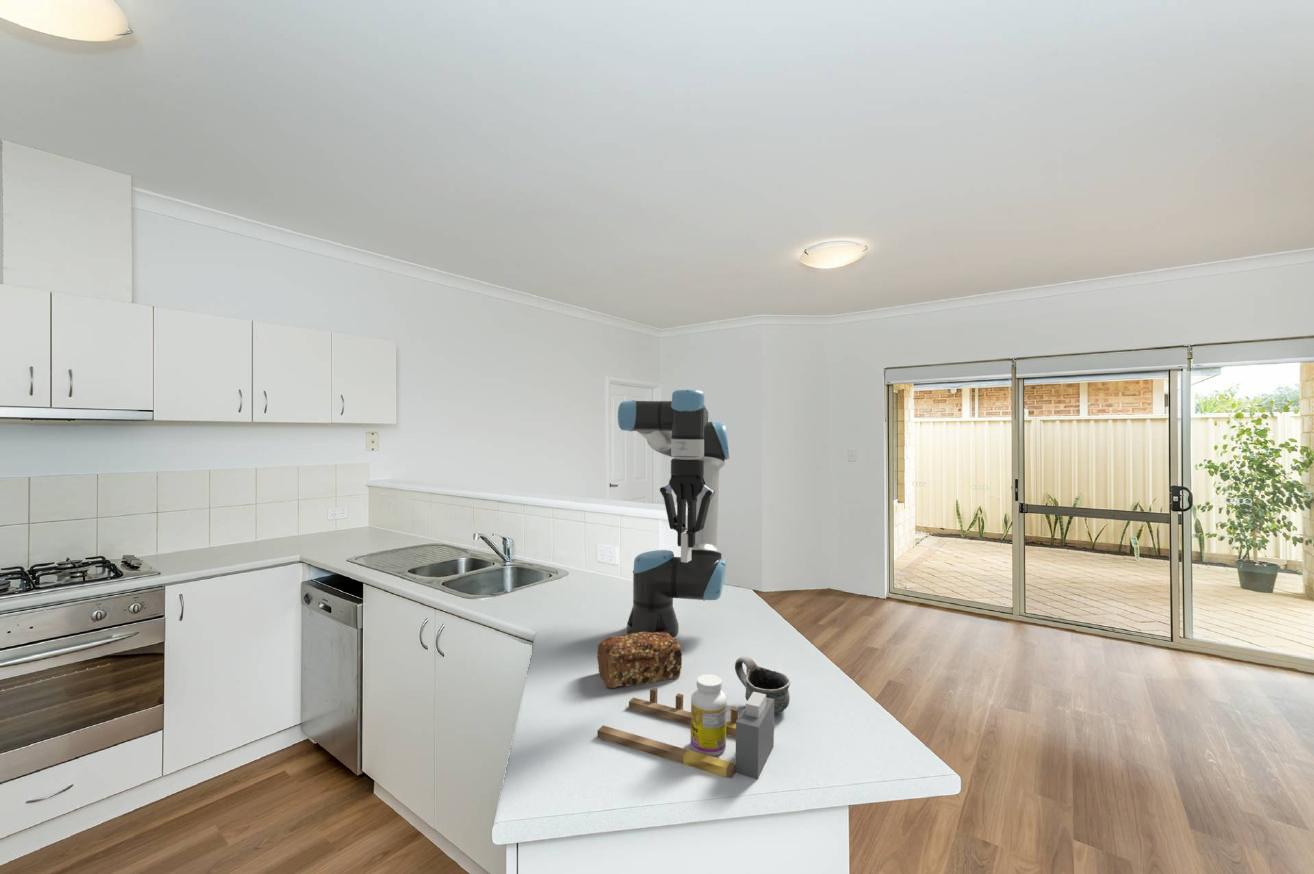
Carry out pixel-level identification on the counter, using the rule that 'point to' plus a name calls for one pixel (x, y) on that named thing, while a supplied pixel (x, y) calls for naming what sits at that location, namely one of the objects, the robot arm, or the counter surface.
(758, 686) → the mug
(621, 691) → the counter surface
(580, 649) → the counter surface
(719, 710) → the supplement bottle
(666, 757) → the wooden rack
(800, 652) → the counter surface
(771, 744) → the grey carton
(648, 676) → the bread
